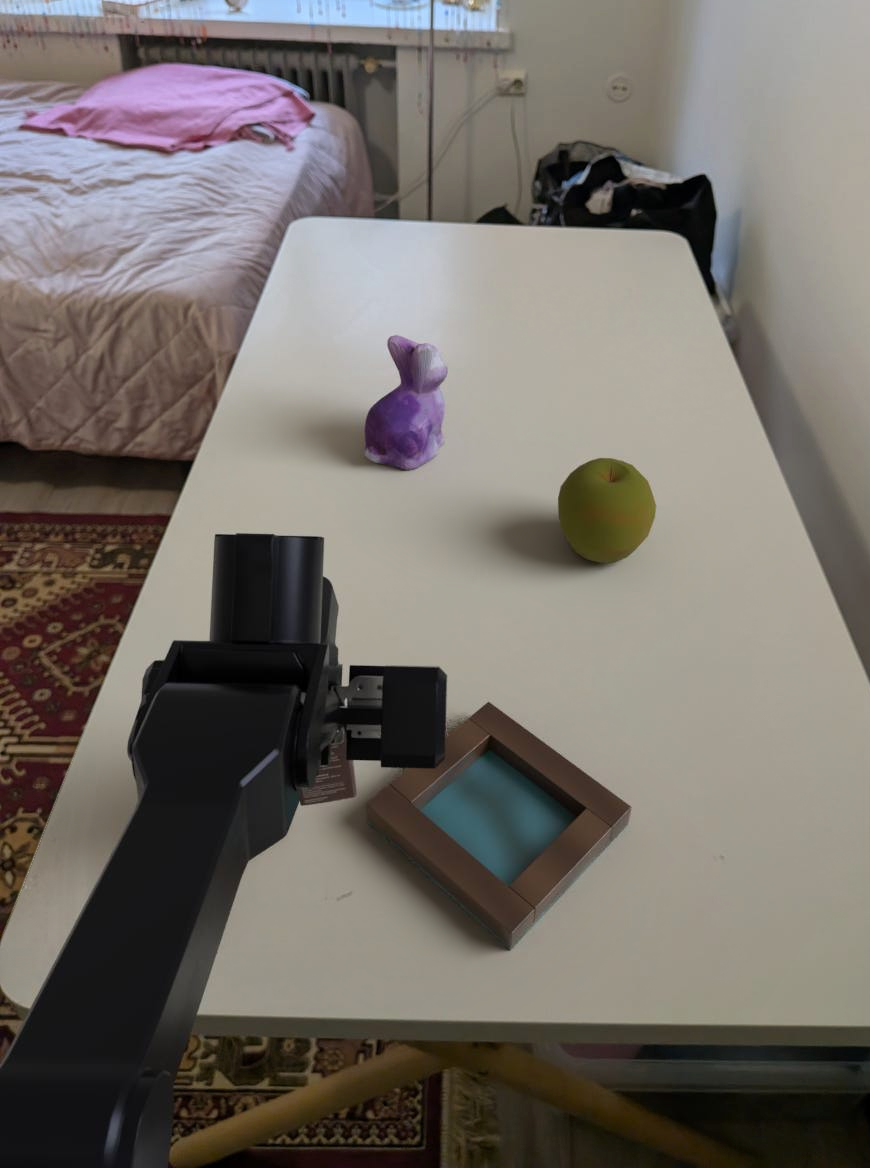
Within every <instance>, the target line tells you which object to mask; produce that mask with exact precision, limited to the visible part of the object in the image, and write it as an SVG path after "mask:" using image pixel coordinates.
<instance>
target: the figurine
mask: <svg viewBox="0 0 870 1168" xmlns="http://www.w3.org/2000/svg"><path fill="white" fill-rule="evenodd" d="M386 344H387V345H386V346H387V349H388V352H389V355H390V357H391V359H392V361H393V363H394V365H395V367H396V369H397V371H398V374H399V378H400V384H399V385H398V386H397V387H396V388H394V389H393V390H391V391H390V392H388V393H387V394H385V395H384V396H382V397H381V398H380V399H379V400H377V401H376V402H375V403H374V404H373V405H372V406H371V407H370V408H369V410H368V412H367V413H366V414H367V415H366V418H365V422H364V443H365V444H364V456H365V457H366V459H368V460H370V461H371V462H373V463H375V464H382V465H386V466H391V467H393V468H398V469H401V470H404V471H410V470H416V469H418V468H420V467H422V466H423V465H425V464H426V463H428V462H430V461H431V460H433V459H434V458H435V457H437V455H438V452H439V449H440V447H442V445H443V444H444V443H445V436H444V434H443V431H442V428H443V422H444V418H445V411H446V403H445V402H446V401H445V398H444V395H443V392H442V390H441V387H440V386H441V385H442V383H444V381H445V380H446V378H447V377H448V371H449V368H448V365H447V363H445V361H444V360H443V357H442V352H441V350H440V349H439V348H438V347H436V346H435V345H433V344H430V343H426V342H425V343H419V342H416V341H413V340H411V339H409V338H407V337H405V336H402V335H398V334H395V335H390V336H389V337H388V339H387V343H386Z"/></svg>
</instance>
